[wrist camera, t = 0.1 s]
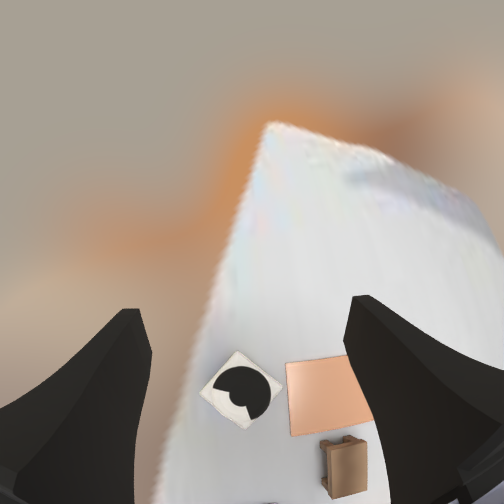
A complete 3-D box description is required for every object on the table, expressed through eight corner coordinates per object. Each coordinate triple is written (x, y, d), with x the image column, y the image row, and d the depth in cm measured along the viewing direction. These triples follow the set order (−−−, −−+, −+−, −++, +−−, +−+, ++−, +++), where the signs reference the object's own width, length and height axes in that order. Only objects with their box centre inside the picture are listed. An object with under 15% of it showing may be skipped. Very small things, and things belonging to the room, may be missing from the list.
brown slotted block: (350, 433, 35) (367, 441, 29) (351, 477, 32) (367, 490, 26) (318, 440, 34) (331, 450, 29) (320, 485, 31) (332, 499, 26)
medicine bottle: (237, 352, 39) (237, 346, 28) (276, 383, 38) (291, 389, 27) (204, 389, 37) (191, 397, 26) (243, 421, 35) (246, 441, 24)
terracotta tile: (374, 419, 36) (375, 419, 35) (290, 435, 35) (291, 436, 34) (368, 351, 40) (370, 351, 39) (285, 363, 39) (285, 363, 38)
